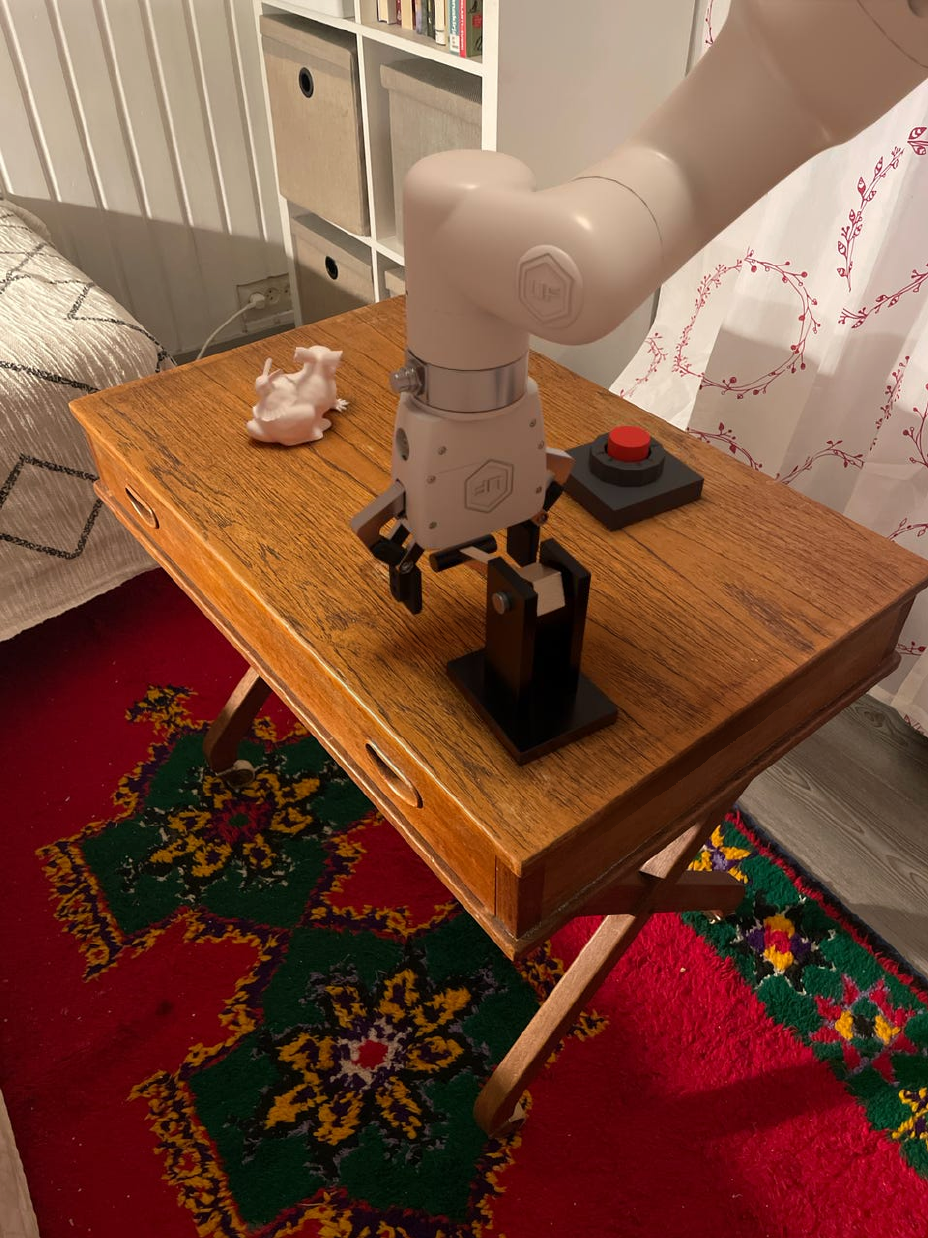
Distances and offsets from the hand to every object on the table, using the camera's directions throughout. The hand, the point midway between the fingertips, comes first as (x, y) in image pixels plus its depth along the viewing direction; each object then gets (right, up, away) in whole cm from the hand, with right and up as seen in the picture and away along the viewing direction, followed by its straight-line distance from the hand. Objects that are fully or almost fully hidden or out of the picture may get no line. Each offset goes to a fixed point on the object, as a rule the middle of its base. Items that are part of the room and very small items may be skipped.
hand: (465, 582), depth 72 cm
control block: (+14, +9, +17) cm, 24 cm away
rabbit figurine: (-15, +16, +24) cm, 32 cm away
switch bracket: (+5, -8, -3) cm, 10 cm away
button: (+14, +12, +14) cm, 24 cm away
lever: (+3, -1, -5) cm, 6 cm away
